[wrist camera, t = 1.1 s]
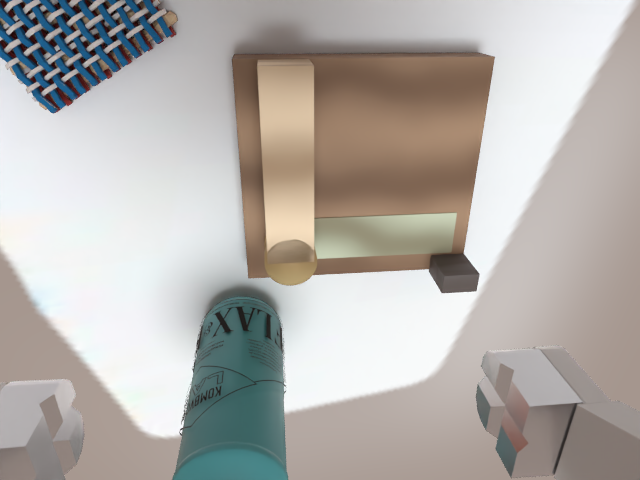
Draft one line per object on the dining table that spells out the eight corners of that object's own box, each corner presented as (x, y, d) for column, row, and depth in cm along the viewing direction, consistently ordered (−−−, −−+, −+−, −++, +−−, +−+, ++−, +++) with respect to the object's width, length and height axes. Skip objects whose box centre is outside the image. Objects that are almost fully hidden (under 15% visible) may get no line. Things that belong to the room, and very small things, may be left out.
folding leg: (313, 261, 34) (317, 284, 32) (265, 264, 34) (265, 286, 31) (312, 59, 28) (317, 65, 26) (254, 59, 28) (253, 66, 25)
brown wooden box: (234, 54, 30) (228, 65, 25) (478, 52, 32) (517, 63, 27) (249, 263, 37) (247, 304, 32) (449, 254, 39) (476, 291, 34)
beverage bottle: (296, 302, 39) (324, 555, 22) (257, 359, 41) (253, 630, 24) (224, 269, 37) (189, 519, 19) (187, 331, 39) (125, 605, 22)
